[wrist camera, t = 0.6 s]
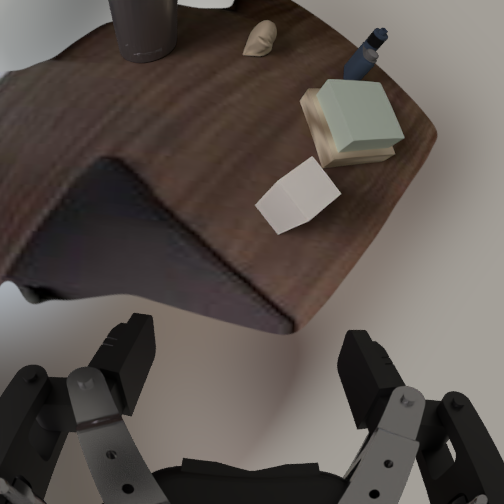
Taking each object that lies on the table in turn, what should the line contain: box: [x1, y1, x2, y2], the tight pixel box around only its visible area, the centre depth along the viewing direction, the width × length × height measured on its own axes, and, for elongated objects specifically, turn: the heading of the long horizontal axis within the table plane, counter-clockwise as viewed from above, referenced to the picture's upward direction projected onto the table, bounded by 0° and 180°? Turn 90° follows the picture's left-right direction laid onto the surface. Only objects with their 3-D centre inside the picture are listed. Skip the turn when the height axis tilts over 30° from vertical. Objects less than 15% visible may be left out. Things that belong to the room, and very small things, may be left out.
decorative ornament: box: [243, 20, 277, 56], centre depth 35 cm, size 4×8×5 cm, turn 167°
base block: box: [300, 89, 395, 168], centre depth 38 cm, size 11×11×4 cm
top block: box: [316, 79, 404, 153], centre depth 34 cm, size 9×9×4 cm
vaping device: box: [344, 28, 388, 81], centre depth 35 cm, size 3×5×12 cm, turn 167°
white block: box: [255, 156, 341, 235], centre depth 31 cm, size 5×5×10 cm
